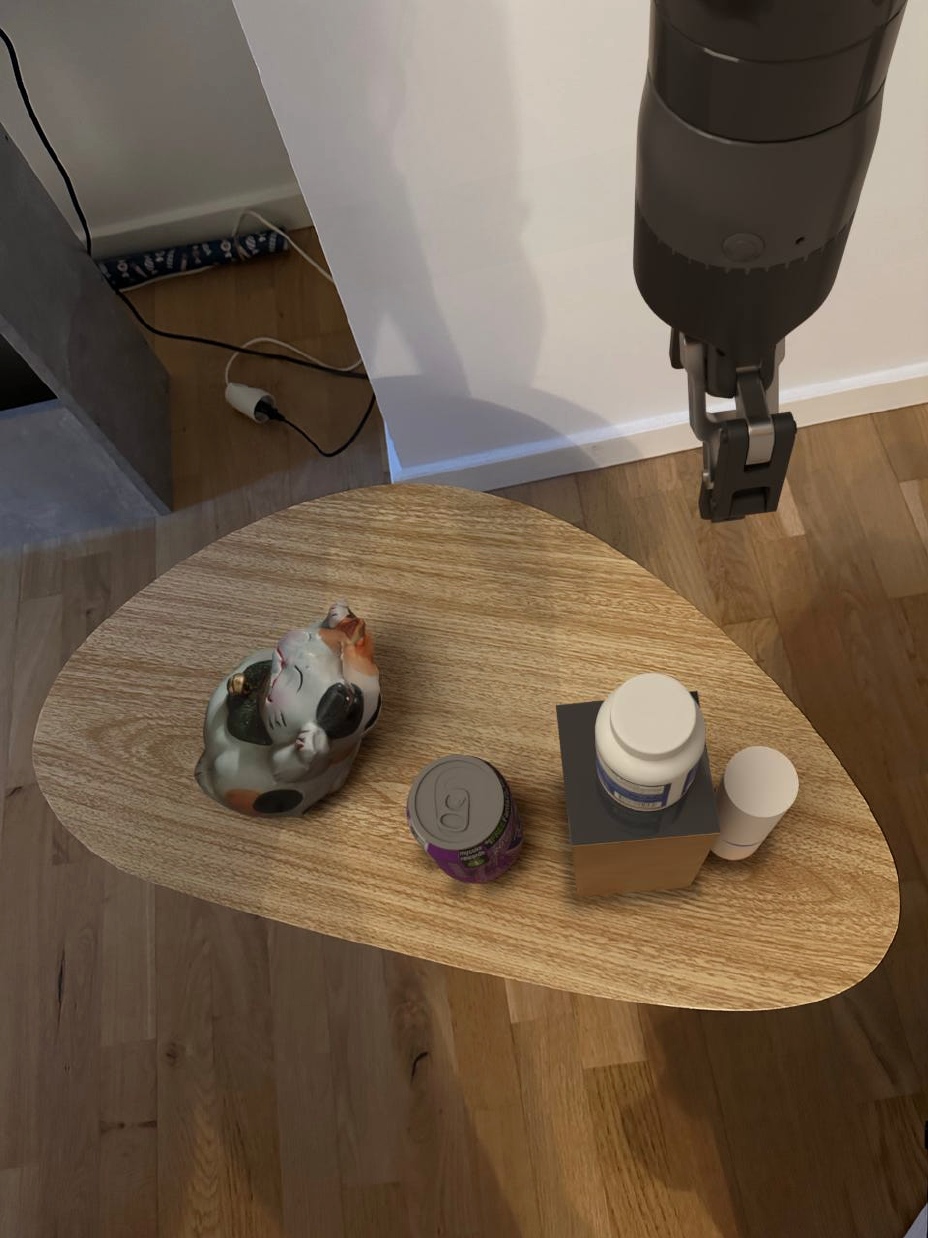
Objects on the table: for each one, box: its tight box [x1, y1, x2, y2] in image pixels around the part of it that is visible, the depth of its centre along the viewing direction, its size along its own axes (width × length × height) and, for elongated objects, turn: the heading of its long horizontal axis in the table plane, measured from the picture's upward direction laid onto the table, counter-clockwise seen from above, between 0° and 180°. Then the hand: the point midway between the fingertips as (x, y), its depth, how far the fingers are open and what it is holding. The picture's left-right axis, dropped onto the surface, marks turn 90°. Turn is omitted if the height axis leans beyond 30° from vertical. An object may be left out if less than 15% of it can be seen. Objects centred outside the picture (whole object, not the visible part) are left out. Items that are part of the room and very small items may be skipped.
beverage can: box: [405, 753, 524, 884], centre depth 72 cm, size 7×7×12 cm
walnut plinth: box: [570, 834, 719, 898], centre depth 67 cm, size 8×8×20 cm
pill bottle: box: [595, 672, 707, 811], centre depth 53 cm, size 5×5×10 cm
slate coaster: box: [555, 690, 720, 848], centre depth 57 cm, size 8×8×1 cm
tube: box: [710, 745, 800, 861], centre depth 68 cm, size 4×4×15 cm
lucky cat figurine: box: [193, 598, 383, 819], centre depth 76 cm, size 15×12×14 cm
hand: (706, 433), depth 50 cm, fingers open, 8 cm apart
